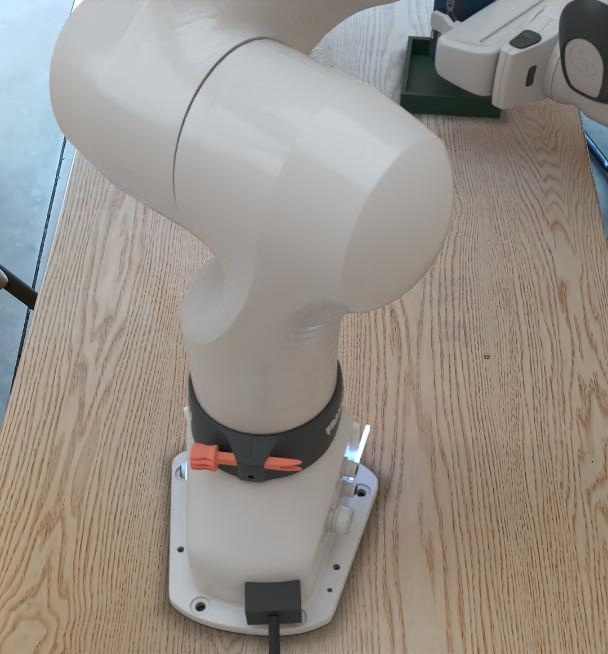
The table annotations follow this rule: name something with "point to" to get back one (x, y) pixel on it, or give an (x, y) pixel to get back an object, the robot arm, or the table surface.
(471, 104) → the serving tray
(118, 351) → the table surface
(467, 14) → the soda can
